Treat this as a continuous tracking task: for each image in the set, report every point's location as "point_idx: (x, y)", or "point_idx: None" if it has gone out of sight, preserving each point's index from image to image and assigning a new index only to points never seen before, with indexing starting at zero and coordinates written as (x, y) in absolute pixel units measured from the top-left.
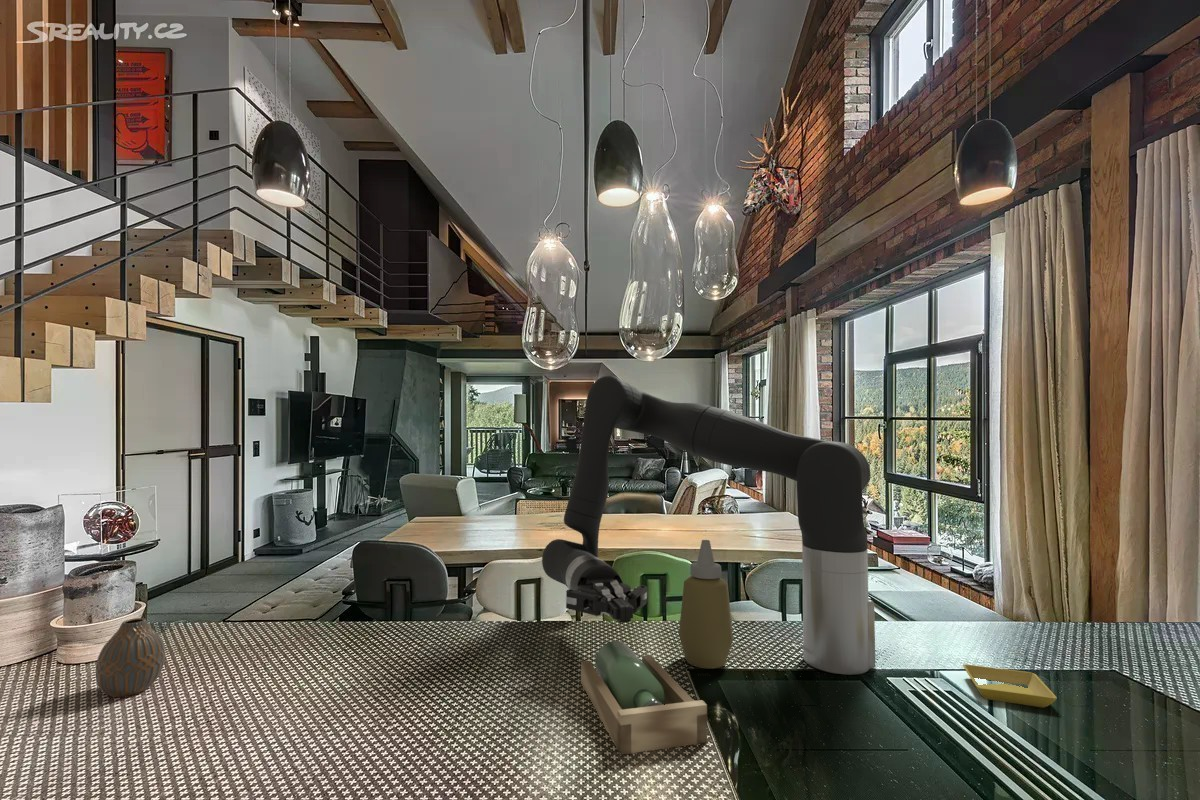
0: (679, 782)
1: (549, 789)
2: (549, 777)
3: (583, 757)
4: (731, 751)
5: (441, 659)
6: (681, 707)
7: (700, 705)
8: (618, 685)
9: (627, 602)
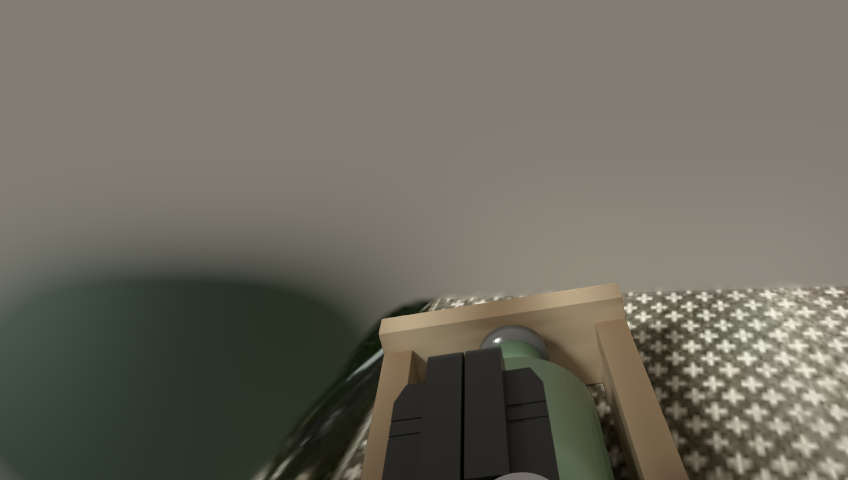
0: None
1: (787, 289)
2: (797, 311)
3: (722, 357)
4: (371, 370)
5: None
6: (450, 309)
7: (399, 316)
8: (595, 424)
9: (392, 475)
